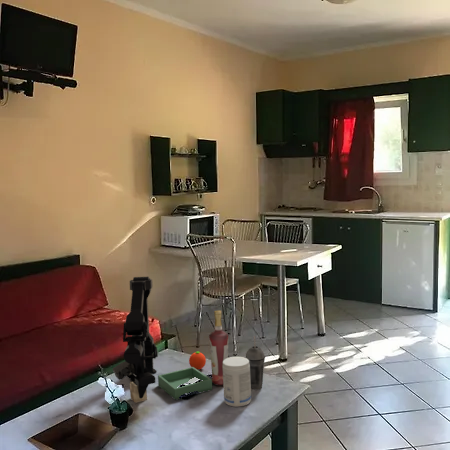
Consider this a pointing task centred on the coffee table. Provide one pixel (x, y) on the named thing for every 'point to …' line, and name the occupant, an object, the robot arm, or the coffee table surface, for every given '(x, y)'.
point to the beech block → (136, 393)
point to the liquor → (218, 349)
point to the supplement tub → (236, 381)
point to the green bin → (177, 378)
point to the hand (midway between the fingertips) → (138, 395)
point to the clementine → (197, 360)
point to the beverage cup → (256, 366)
